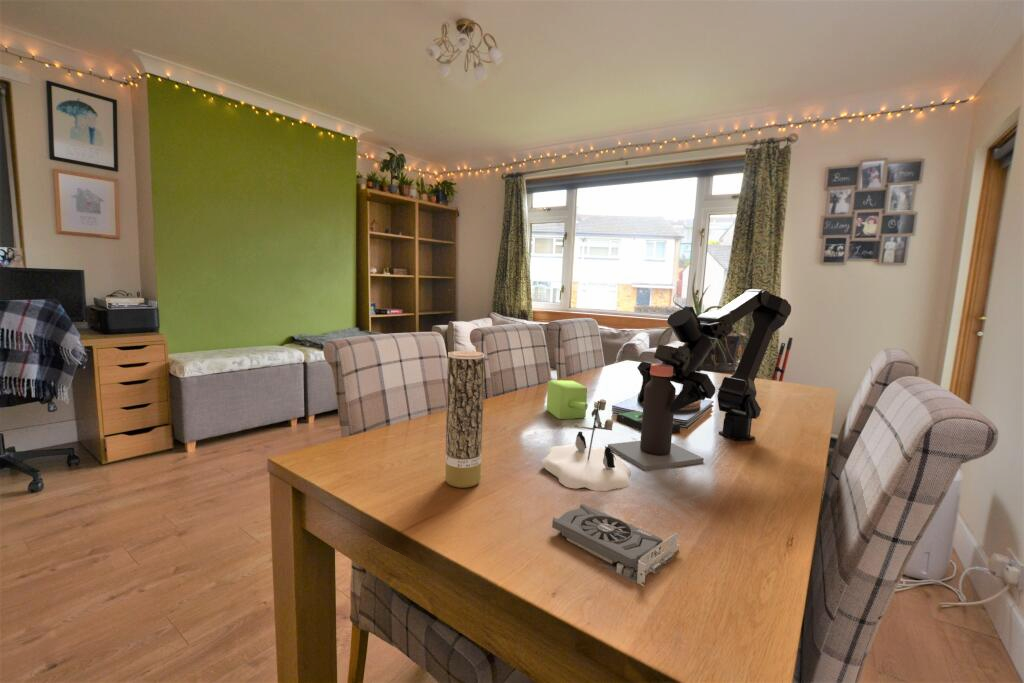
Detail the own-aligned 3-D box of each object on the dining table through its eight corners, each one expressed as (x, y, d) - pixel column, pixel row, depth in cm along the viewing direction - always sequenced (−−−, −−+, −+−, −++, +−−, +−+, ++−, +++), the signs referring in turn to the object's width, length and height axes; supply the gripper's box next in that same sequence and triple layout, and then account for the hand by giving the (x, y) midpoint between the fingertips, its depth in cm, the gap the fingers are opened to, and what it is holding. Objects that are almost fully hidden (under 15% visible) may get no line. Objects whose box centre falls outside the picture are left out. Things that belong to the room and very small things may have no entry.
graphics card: (687, 533, 68) (644, 563, 60) (684, 557, 69) (642, 591, 60) (592, 494, 80) (546, 515, 72) (591, 515, 80) (544, 538, 72)
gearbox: (597, 423, 132) (599, 390, 131) (565, 424, 129) (567, 391, 128) (572, 406, 149) (574, 377, 148) (543, 407, 146) (544, 377, 145)
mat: (661, 442, 117) (661, 438, 117) (703, 462, 104) (703, 458, 104) (607, 448, 111) (607, 444, 111) (644, 470, 98) (645, 466, 98)
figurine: (530, 451, 105) (536, 382, 101) (604, 448, 109) (613, 382, 106) (560, 500, 86) (569, 417, 82) (648, 494, 91) (661, 415, 87)
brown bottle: (654, 457, 103) (661, 368, 101) (633, 447, 109) (640, 363, 107) (676, 453, 106) (684, 367, 104) (655, 444, 112) (662, 362, 110)
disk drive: (680, 433, 127) (642, 417, 140) (681, 423, 127) (643, 408, 140) (652, 438, 122) (615, 421, 135) (653, 427, 122) (615, 412, 135)
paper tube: (485, 477, 92) (490, 352, 89) (471, 492, 85) (475, 357, 82) (454, 472, 94) (457, 349, 91) (438, 485, 88) (441, 354, 85)
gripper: (645, 328, 114) (608, 375, 110) (712, 337, 99) (672, 393, 94) (665, 358, 119) (630, 404, 115) (731, 371, 104) (694, 425, 99)
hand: (654, 406), depth 106 cm, fingers open, 9 cm apart
